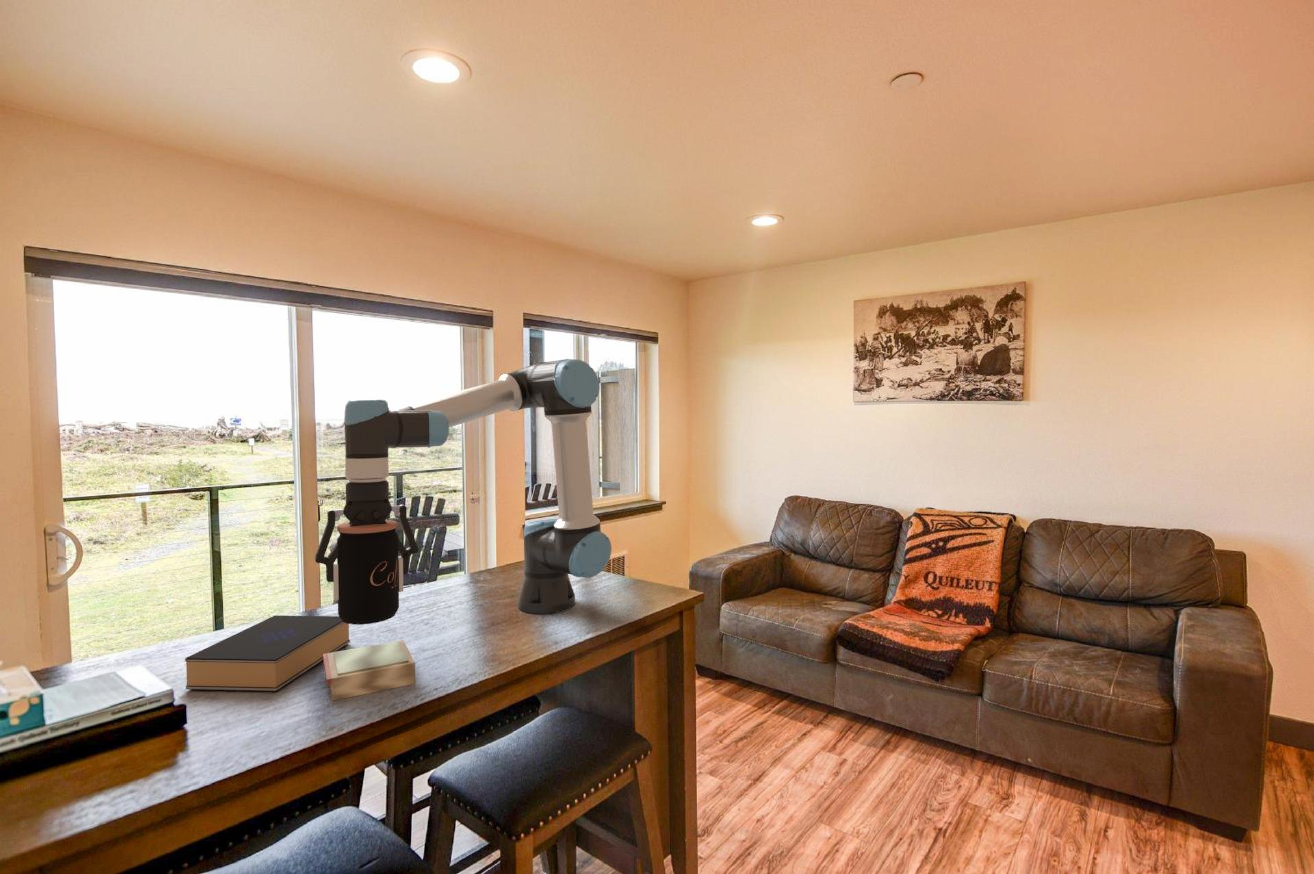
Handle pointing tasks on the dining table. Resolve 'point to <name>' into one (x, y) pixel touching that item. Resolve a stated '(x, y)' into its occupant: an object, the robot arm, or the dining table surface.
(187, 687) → the book
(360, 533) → the coffee jar
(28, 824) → the dining table surface
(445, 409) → the robot arm
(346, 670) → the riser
